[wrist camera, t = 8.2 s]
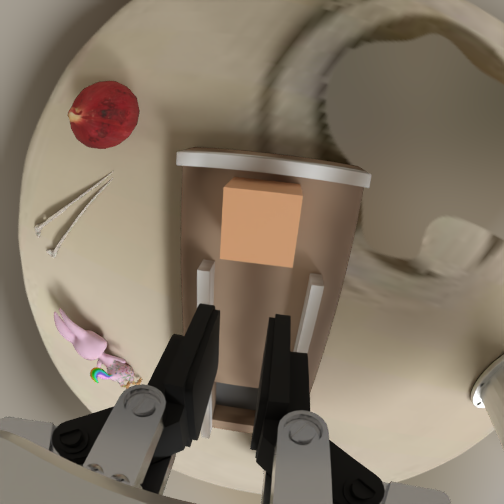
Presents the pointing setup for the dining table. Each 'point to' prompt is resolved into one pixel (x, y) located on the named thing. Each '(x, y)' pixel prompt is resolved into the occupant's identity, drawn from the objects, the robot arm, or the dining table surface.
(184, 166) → the trap tube
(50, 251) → the tweezers
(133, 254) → the dining table surface
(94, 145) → the onion
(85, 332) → the pink plastic figure
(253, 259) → the block
